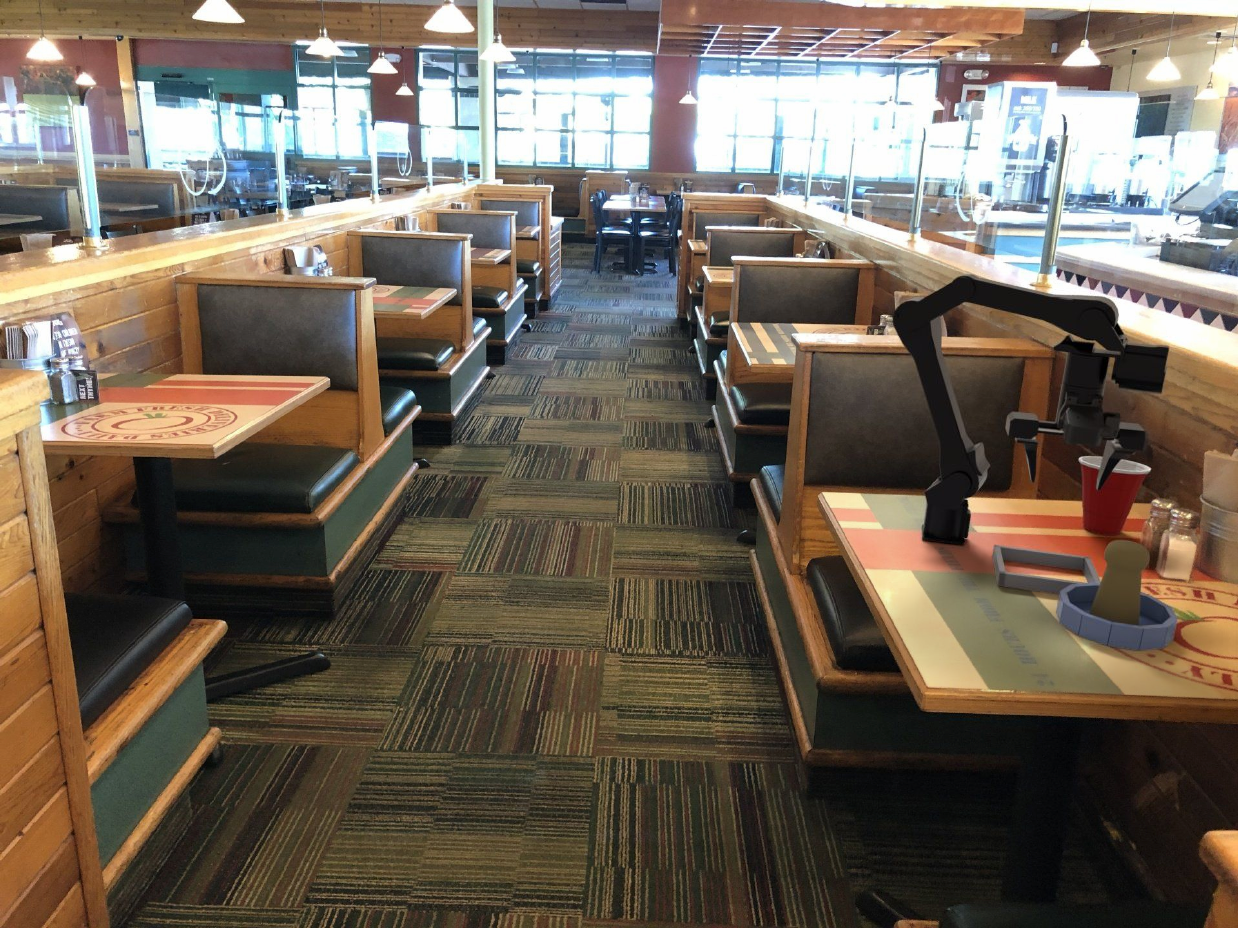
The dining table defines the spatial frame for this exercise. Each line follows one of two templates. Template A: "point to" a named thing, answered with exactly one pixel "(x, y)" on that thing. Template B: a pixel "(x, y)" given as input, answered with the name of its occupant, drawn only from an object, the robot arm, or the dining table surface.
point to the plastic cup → (1109, 494)
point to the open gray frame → (1041, 559)
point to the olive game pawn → (1121, 583)
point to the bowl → (1150, 633)
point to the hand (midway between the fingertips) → (1065, 485)
